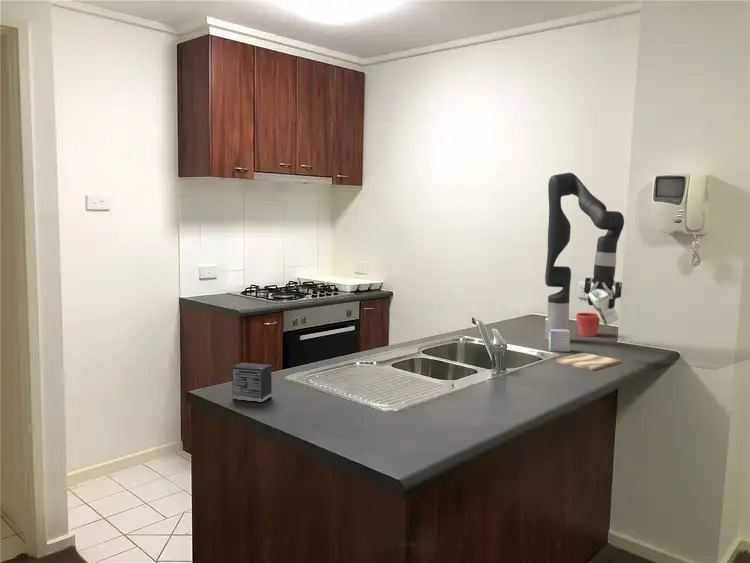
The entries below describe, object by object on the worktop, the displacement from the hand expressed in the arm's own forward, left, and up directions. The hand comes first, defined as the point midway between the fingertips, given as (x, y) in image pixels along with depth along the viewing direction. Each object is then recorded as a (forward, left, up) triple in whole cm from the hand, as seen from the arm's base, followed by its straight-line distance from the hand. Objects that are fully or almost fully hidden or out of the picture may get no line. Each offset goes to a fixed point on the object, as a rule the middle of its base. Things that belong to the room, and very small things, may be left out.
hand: (600, 306), depth 235 cm
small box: (-38, -127, -21) cm, 134 cm away
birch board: (-2, -5, -21) cm, 22 cm away
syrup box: (-1, +7, -5) cm, 9 cm away
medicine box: (-21, +4, -21) cm, 30 cm away
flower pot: (-33, +43, -21) cm, 58 cm away
